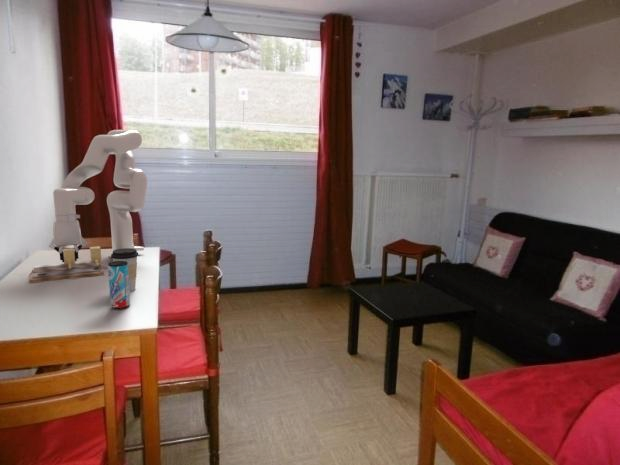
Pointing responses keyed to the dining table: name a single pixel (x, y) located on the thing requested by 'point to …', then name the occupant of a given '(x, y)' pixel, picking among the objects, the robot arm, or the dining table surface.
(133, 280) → the coffee cup
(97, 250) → the fixed leg
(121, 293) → the beverage can
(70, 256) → the block
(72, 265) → the board
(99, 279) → the dining table surface
